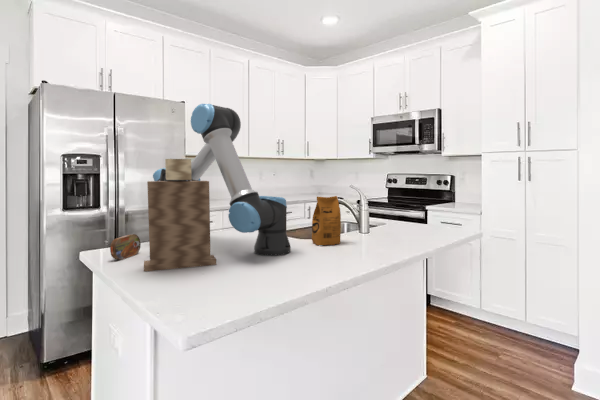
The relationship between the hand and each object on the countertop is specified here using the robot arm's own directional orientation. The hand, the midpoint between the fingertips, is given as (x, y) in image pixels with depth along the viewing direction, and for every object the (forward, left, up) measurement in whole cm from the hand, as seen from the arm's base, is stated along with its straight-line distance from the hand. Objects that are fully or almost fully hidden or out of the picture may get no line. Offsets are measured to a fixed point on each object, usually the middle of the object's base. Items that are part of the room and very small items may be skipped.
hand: (176, 161), depth 134 cm
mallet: (0, +2, -6) cm, 6 cm away
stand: (0, +7, -37) cm, 38 cm away
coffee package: (-65, -9, -37) cm, 75 cm away
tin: (+19, -14, -37) cm, 44 cm away
